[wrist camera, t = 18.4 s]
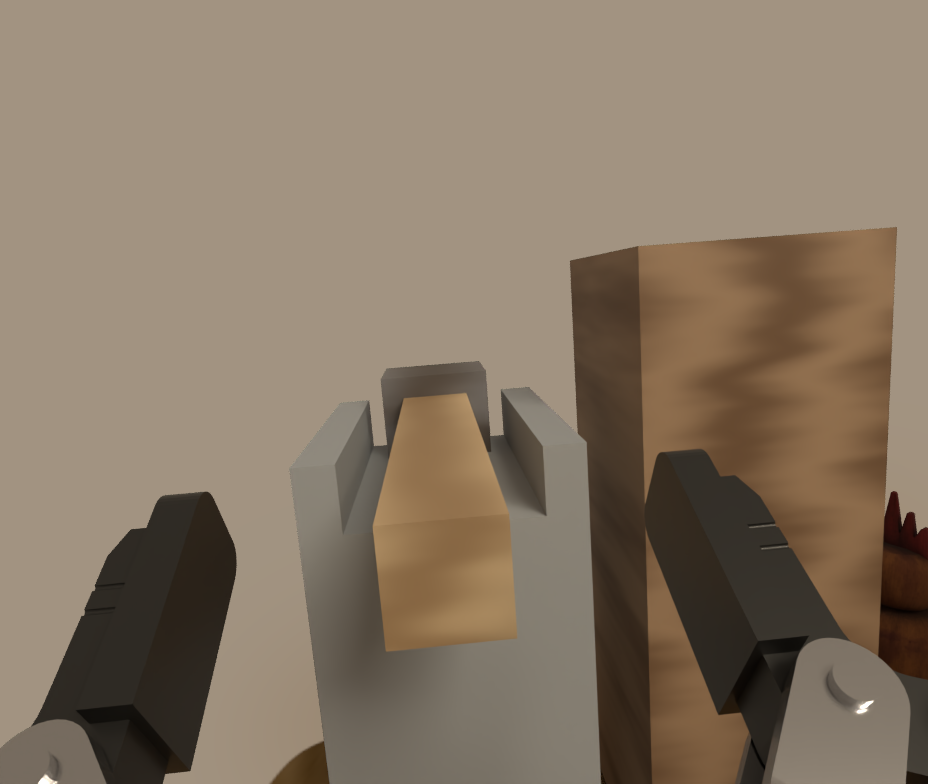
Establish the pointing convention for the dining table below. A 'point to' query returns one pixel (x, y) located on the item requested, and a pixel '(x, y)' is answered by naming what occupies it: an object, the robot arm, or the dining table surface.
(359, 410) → the grey post
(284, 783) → the dining table surface
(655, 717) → the walnut post
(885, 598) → the wooden figurine
